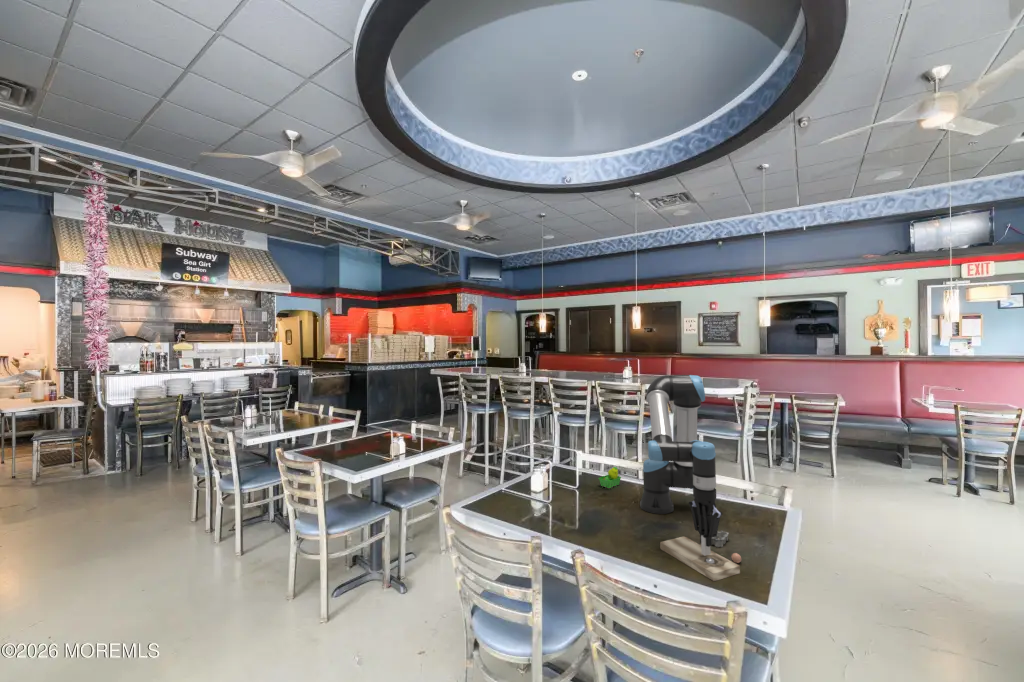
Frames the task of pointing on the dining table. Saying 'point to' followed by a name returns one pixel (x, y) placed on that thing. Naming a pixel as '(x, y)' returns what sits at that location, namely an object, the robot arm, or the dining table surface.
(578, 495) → the dining table surface
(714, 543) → the egg carton
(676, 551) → the hole plate
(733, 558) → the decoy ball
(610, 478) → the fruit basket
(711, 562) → the steel ball
